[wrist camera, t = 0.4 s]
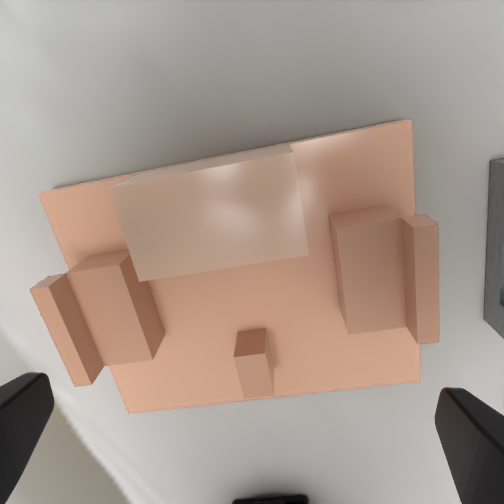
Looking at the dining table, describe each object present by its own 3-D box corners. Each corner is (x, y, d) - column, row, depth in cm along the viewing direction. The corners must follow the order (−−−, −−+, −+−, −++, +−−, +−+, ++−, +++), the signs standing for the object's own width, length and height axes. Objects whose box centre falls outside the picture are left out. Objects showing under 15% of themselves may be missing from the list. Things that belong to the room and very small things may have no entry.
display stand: (412, 365, 24) (450, 433, 19) (136, 397, 26) (103, 465, 21) (401, 119, 19) (450, 121, 13) (53, 188, 21) (-18, 212, 16)
